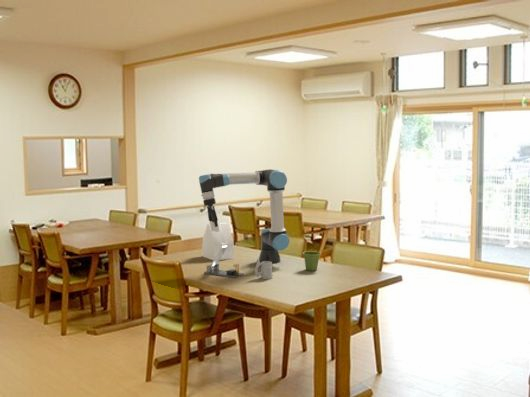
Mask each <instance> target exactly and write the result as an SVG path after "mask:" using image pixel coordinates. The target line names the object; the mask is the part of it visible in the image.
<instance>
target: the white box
mask: <svg viewBox="0 0 530 397" xmlns="http://www.w3.org/2000/svg"><path fill="white" fill-rule="evenodd" d="M229 225H230V224H229V222H227V221H226V222H218V226H219V232H215V231H211V226H210V223H207V225H206V228H205V230H204V235H203V237H202V239H201V240H202V241H201V245H202V246H201V247H202V248H201V249H202V250H201V255H202V257H203V258H206V259H209V260H212V261H213V260H214V258H215V257H216V255H217V253H218V252H219V250H220V248H221V247H222V246H225V245H227V246H228V247H227V249H226V250H225V252H224V254H223V255H222V257H221V258H220V260H219V261H224V260H231V259H232V260H233V259H235V248H234V247H235V246H234V245H235V242H234V239H233V236H232V233H231V229H230V226H229Z"/></svg>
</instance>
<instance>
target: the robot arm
mask: <svg viewBox="0 0 530 397" xmlns="http://www.w3.org/2000/svg"><path fill="white" fill-rule="evenodd" d="M198 182H199V187H200V191H201V194H200V196H201V197H202V200H203V206H205V207H206V209H207V216H208V218H207V219H208V221H209V224H210V226H211V231H215V232H219V222H218V221H219V219H218V216H217V213H216V209H215V206H214V205H215V204H217V203H216V202H217V201H216V198H215V193H214V192H215V191H214V189H216V188H222V187H227V186H229V185H230V186H231V185H253V184H255V185H256V186H266V189H267V190H266V191H267V192H268V193H269V204H270V205H269V206H270V225H271V227H270V228H263V229H262V230H261V232H260V240H261V241H260V244H261V245H260V253H259V256H258V260H259V262H260V263H262V262H263V261H270V262H272V264H277V263H280V262H281V256H280V253H279V251H284V250H286V249H287V248H288V247H289V245H290V243H291V242H290V240H291V239H290V237H289V236H288V234H287V233H288V232H287V229H286V228H285V223H284V222H285V220H284V198H283V197H284V196H283V194H284V193H283V192H284V191H285V187H286V185H287V182H288V178H287V175H286V174H285V172H284V171H282V170H279V169H263V170H256V171H254V172H241V173H240V172H235V173H234V172H232V173H208V174H203V175H200V176H199V177H198Z"/></svg>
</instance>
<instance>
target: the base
mask: <svg viewBox="0 0 530 397" xmlns="http://www.w3.org/2000/svg"><path fill="white" fill-rule="evenodd" d="M210 265H211V264H210ZM210 265H209V264H208V265H206V271H203V273H204V274H206V275H213V276H219V277H226V278H232V279H237V278H239V277H242V276H243V277H244V275H245V274H244V273H243V272H240V264H238V263H234V264H233V267H235V269H234V268H231V269H227V270H224V269H220V263H217V265H216V267H214V268H212V266H210Z"/></svg>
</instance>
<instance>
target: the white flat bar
mask: <svg viewBox="0 0 530 397" xmlns="http://www.w3.org/2000/svg"><path fill="white" fill-rule="evenodd" d="M227 247H228V246H227V245H225V246H222V247H221V248H220V250H219V252H218V253H217V255H216V257H215V258H214V260H212V262H211V263H210V266H212V269H214V267H216V265H217V264H219V263H220V261H221V260H220V258H221V257H222V255H223V254H224V252H225V250H226V249H227Z"/></svg>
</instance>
